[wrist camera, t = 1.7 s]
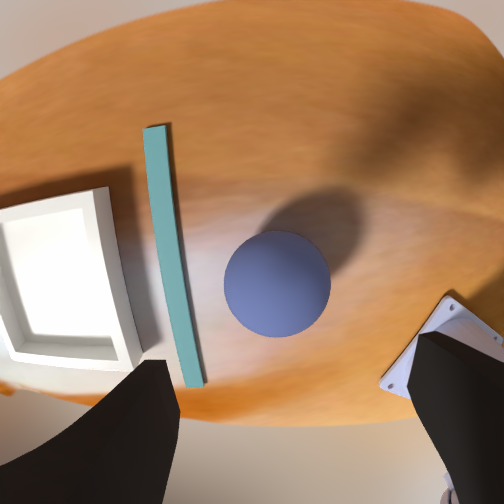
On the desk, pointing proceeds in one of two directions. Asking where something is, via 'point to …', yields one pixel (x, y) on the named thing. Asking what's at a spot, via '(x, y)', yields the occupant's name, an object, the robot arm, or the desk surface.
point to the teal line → (170, 252)
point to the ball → (277, 284)
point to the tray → (65, 284)
